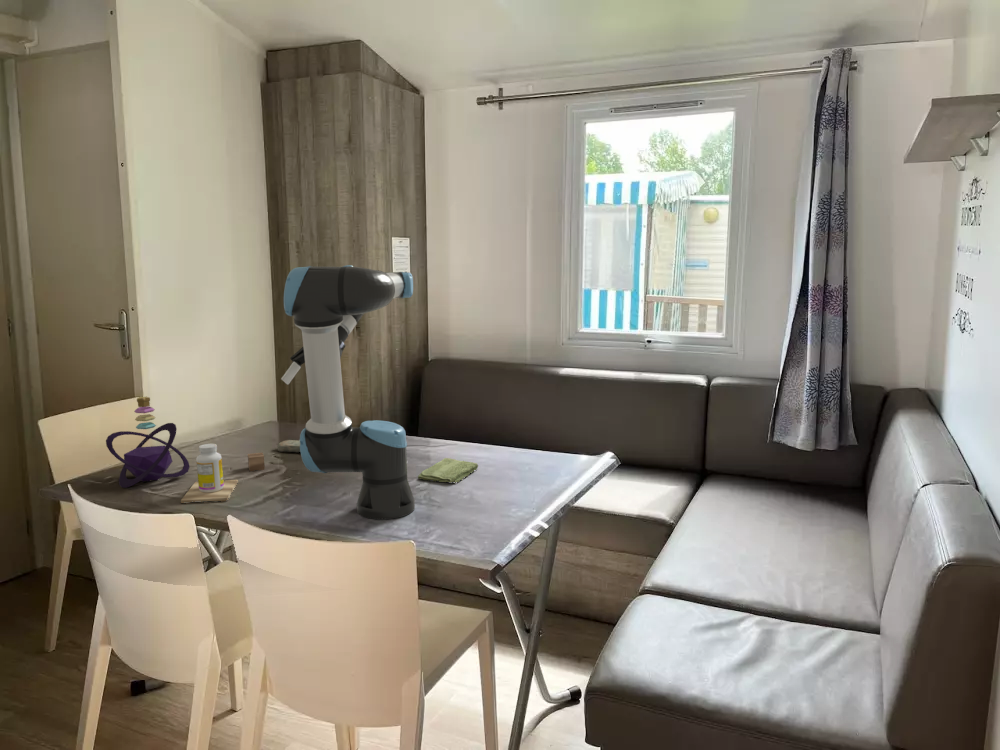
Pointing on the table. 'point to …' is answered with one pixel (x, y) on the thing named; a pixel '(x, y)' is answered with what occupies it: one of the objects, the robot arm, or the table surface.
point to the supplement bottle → (209, 469)
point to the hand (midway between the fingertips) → (298, 384)
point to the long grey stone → (289, 446)
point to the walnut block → (256, 461)
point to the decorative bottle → (147, 450)
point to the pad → (220, 495)
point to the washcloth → (448, 470)
